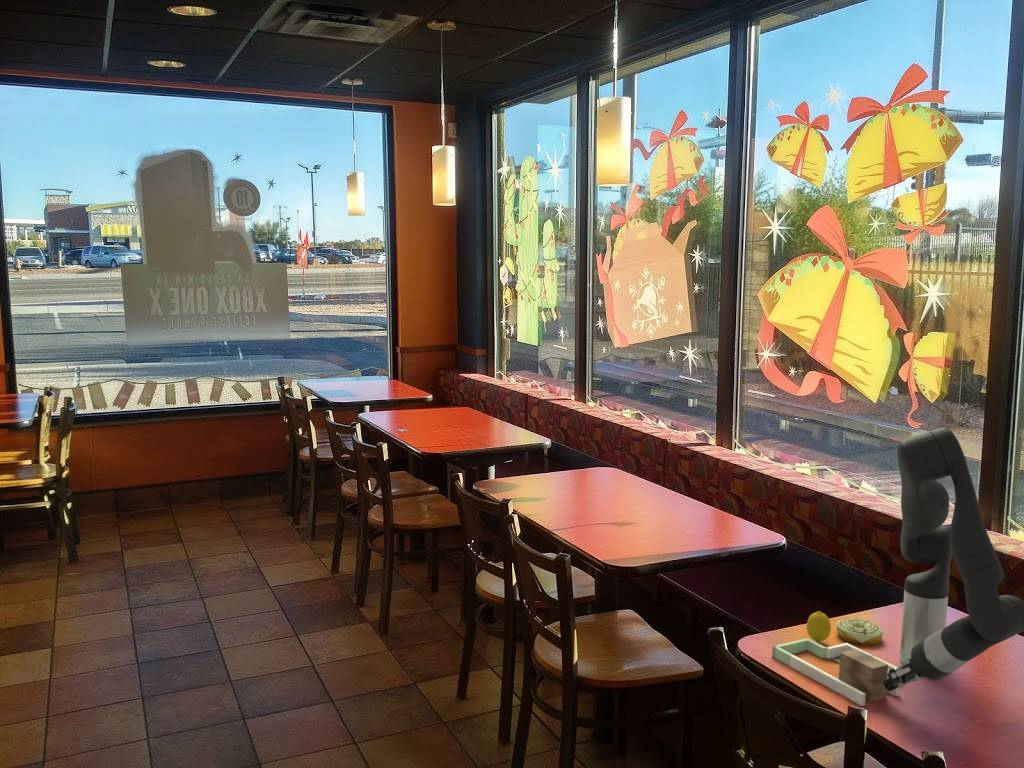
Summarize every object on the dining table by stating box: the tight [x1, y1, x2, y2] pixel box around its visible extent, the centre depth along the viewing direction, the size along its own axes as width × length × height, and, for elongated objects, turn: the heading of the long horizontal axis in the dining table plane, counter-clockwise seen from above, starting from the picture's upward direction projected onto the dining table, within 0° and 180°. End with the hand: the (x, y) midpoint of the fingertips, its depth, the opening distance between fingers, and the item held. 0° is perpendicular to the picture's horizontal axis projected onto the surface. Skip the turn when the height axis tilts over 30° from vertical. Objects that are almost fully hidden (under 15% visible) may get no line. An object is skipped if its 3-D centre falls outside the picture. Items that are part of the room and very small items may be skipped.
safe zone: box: [771, 637, 827, 667], centre depth 212 cm, size 6×11×2 cm, turn 116°
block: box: [838, 649, 888, 703], centre depth 195 cm, size 9×4×8 cm, turn 26°
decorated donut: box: [835, 617, 884, 646], centre depth 224 cm, size 10×11×4 cm
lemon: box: [806, 610, 832, 644], centre depth 220 cm, size 6×6×8 cm
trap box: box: [789, 642, 900, 707], centre depth 202 cm, size 21×18×2 cm
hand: (887, 686), depth 189 cm, fingers closed
